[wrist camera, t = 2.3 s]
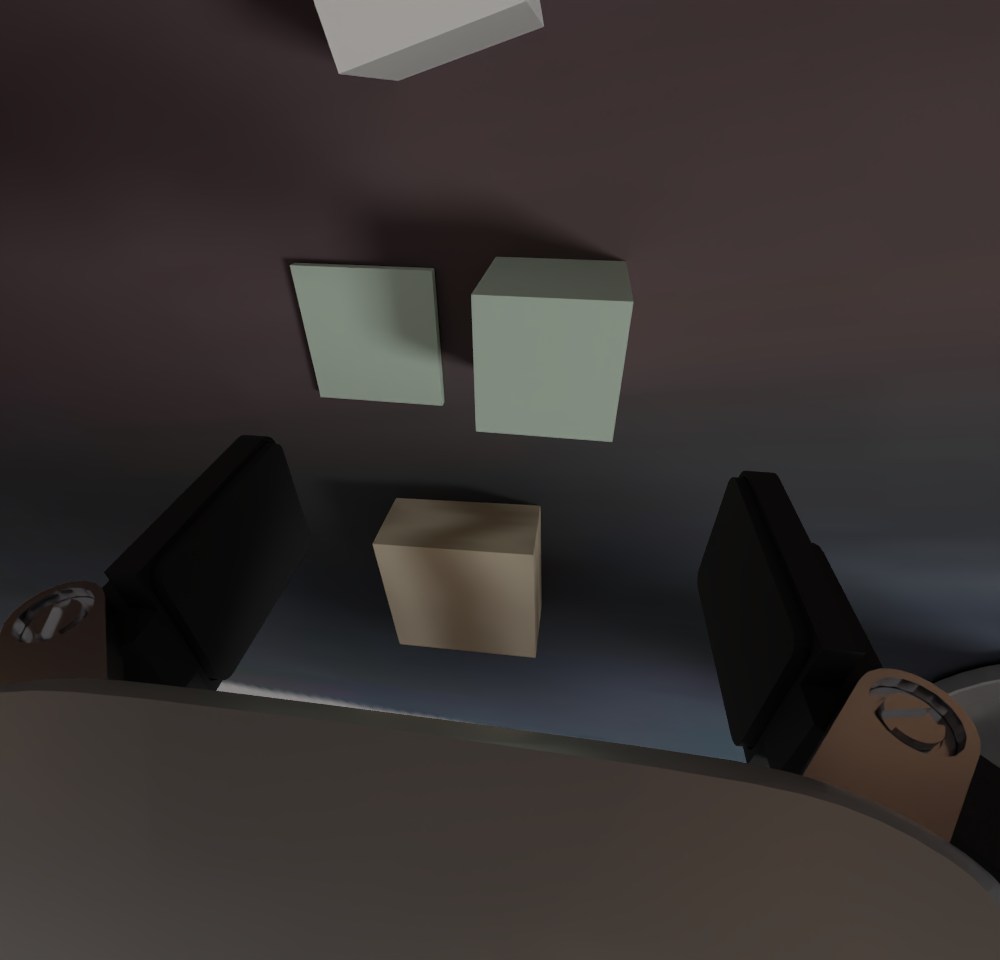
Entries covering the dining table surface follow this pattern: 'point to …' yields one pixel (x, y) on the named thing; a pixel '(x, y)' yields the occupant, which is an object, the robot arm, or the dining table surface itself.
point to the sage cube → (550, 346)
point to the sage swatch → (372, 331)
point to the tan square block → (463, 574)
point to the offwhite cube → (418, 32)
